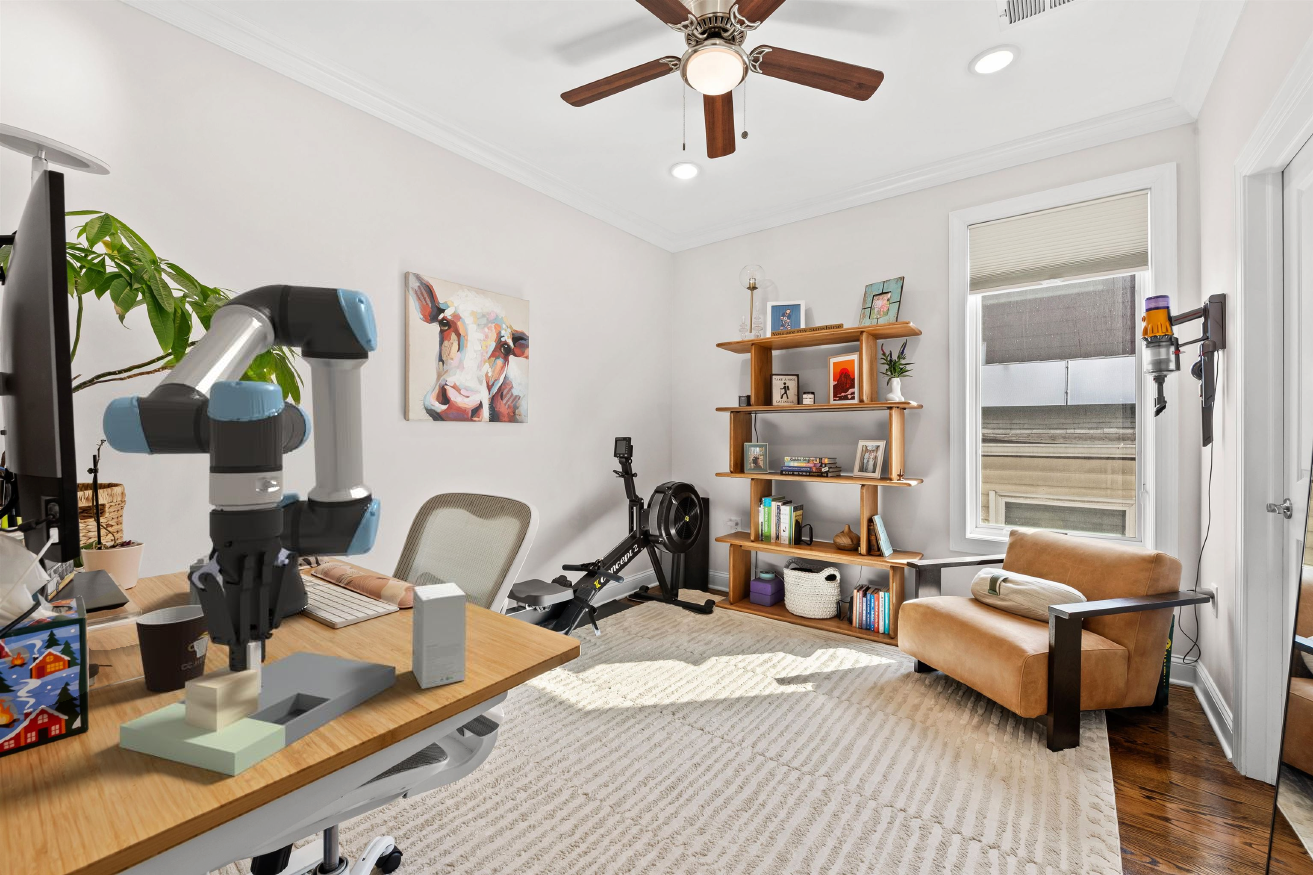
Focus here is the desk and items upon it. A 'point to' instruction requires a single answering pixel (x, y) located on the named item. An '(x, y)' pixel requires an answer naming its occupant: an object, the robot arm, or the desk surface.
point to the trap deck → (263, 713)
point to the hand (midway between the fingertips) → (247, 692)
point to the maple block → (221, 698)
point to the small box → (439, 634)
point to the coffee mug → (172, 646)
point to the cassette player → (196, 567)
